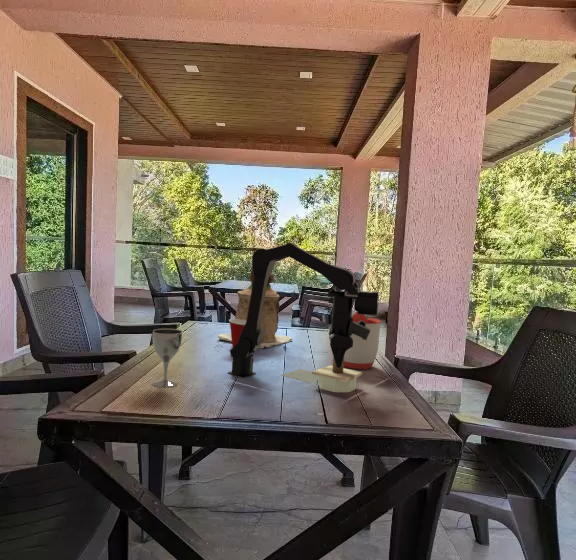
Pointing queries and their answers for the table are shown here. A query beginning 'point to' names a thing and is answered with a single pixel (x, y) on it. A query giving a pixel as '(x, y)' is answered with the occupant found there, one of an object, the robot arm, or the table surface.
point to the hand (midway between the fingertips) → (338, 364)
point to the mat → (302, 375)
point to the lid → (337, 372)
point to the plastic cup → (236, 329)
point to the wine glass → (166, 351)
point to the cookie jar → (268, 314)
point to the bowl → (336, 385)
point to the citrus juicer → (363, 345)
